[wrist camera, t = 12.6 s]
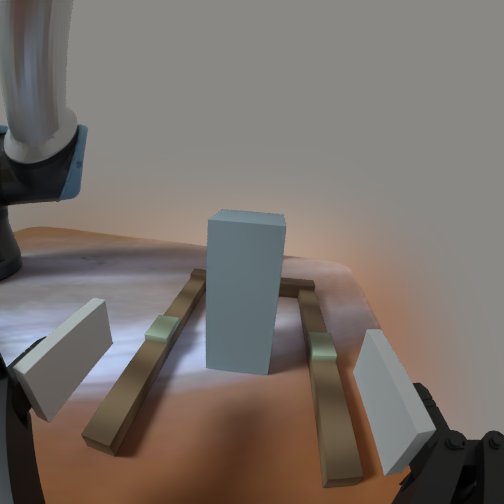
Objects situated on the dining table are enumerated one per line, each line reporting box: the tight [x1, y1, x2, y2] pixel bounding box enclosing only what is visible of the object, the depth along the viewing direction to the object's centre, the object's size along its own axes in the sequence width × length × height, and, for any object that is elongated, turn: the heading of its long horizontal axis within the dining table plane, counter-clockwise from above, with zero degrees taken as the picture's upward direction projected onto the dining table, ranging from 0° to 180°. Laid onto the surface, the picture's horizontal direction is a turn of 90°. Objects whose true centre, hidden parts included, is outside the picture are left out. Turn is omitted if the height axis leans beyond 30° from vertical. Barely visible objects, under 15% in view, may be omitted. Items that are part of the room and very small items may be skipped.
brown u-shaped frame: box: [81, 269, 363, 488], centre depth 24 cm, size 28×16×2 cm, turn 176°
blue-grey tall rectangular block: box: [206, 209, 286, 375], centre depth 22 cm, size 5×5×12 cm
